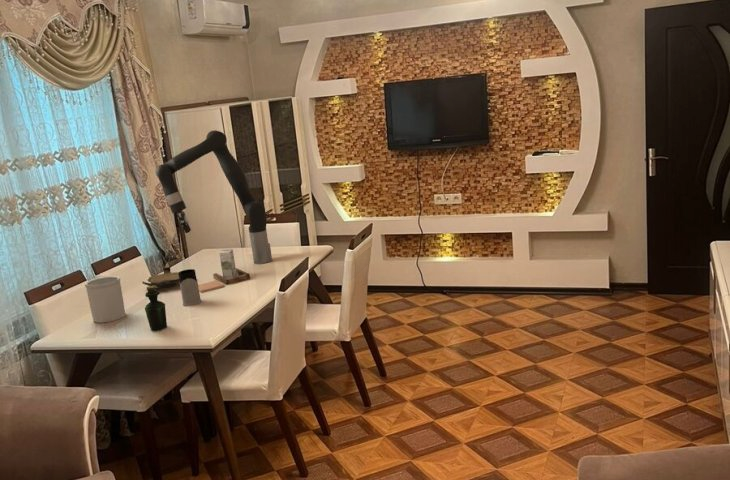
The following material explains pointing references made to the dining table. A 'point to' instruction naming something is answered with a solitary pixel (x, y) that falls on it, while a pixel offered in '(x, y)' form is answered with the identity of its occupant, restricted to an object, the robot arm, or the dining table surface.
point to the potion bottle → (155, 310)
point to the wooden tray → (240, 277)
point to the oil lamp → (164, 278)
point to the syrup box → (228, 263)
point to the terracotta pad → (210, 286)
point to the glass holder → (189, 287)
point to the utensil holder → (105, 298)
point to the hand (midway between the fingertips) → (188, 232)
